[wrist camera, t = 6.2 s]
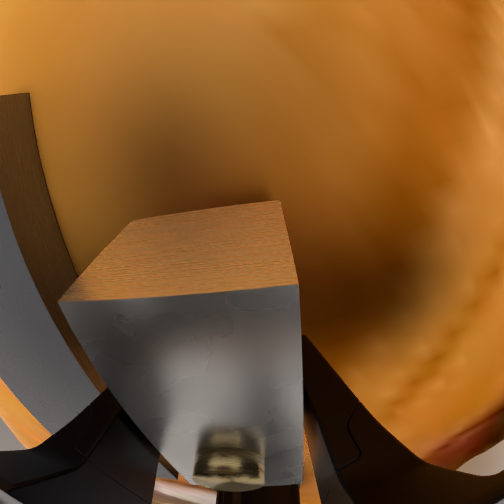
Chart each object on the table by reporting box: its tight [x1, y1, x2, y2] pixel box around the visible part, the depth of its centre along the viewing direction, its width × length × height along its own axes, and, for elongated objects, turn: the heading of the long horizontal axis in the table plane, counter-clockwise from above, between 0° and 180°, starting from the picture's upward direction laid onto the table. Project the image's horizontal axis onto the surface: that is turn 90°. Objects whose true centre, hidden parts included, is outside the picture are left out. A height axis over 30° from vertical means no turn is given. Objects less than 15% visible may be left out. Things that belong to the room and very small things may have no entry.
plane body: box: [0, 93, 179, 480], centre depth 11 cm, size 24×9×6 cm, turn 8°
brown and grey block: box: [58, 200, 303, 492], centre depth 8 cm, size 9×4×5 cm, turn 8°
